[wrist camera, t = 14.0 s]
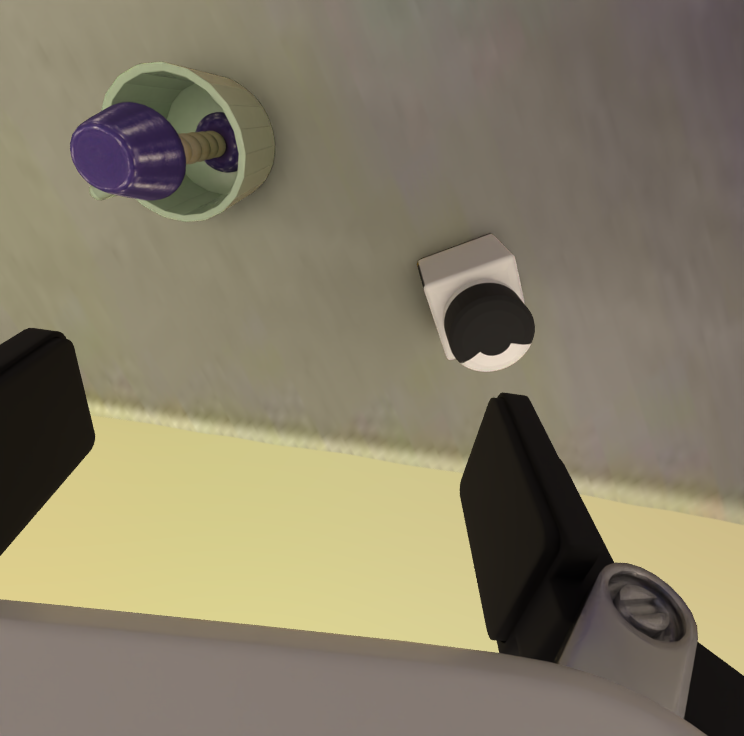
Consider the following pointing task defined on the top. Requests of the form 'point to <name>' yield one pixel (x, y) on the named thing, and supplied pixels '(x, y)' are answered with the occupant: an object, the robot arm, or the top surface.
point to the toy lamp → (147, 150)
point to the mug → (184, 111)
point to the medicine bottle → (478, 304)
